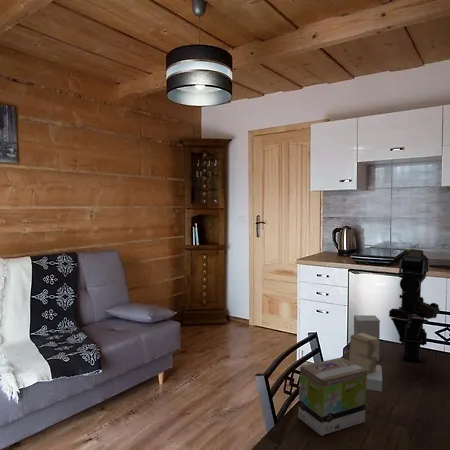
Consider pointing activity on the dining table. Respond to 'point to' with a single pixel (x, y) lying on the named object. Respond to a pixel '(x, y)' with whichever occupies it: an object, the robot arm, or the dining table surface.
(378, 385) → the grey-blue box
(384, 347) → the dining table surface
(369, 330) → the skincare box
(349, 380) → the tea box
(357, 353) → the birch block
